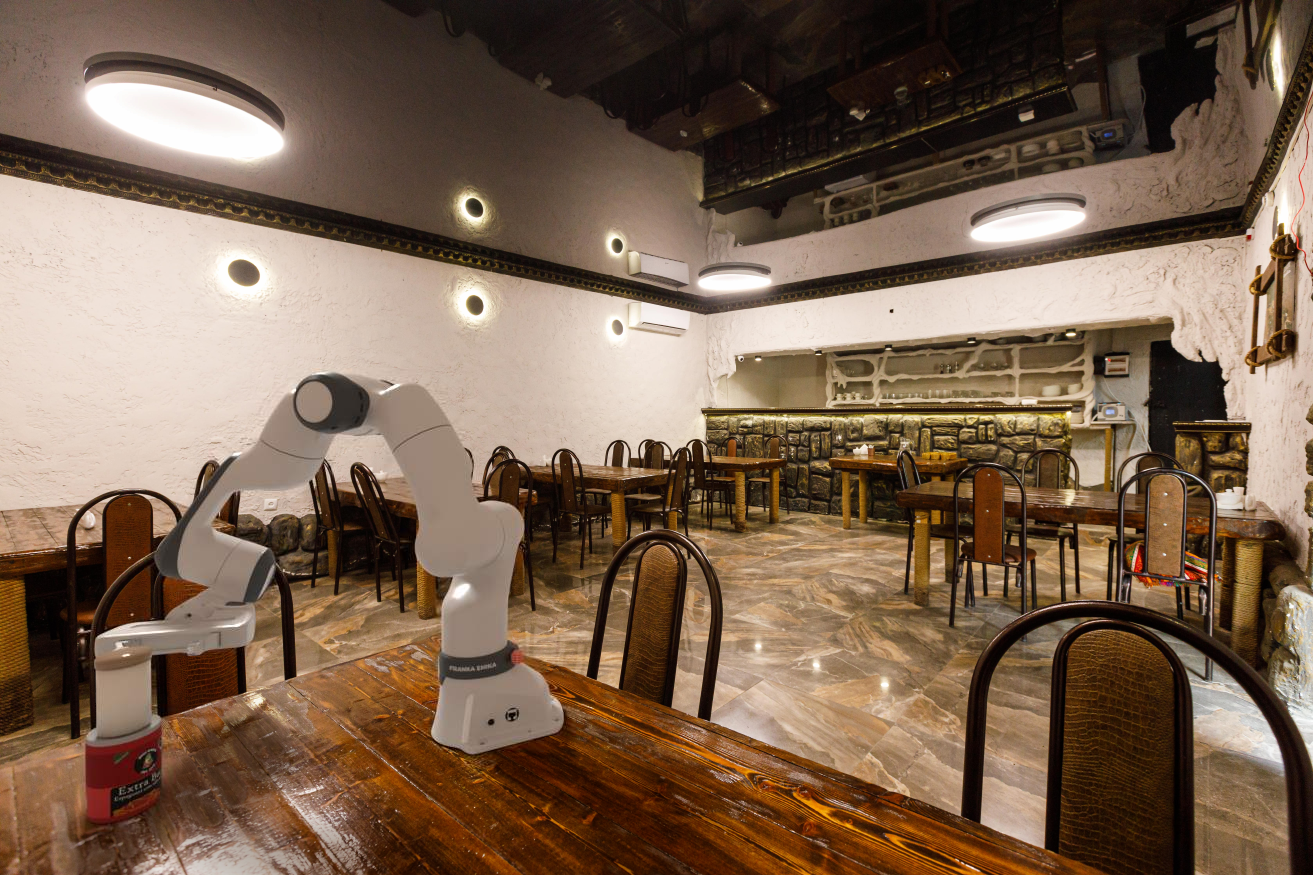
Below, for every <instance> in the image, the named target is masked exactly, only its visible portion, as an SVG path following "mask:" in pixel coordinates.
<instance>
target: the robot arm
mask: <svg viewBox="0 0 1313 875" xmlns="http://www.w3.org/2000/svg"><path fill="white" fill-rule="evenodd" d="M337 435H344V436H345V435H346V436H353V437H366V436H382V437H383V439H384V440H385V442H386V445H387V447H388V448H389V450H390V451H391V454H392V455H393V458H394V459H395V461H396V463H397V464H398V467H399V469H400V471H401V473H402V475H403V477H404V479H405V481H406V483H407V485H408V487H409V488H410V491H411V493H412V497H413V499H414V504H415V507H416V508H415V509H416V512H417V513H416V514H417V520H418V531H417V535H416V538H415V541H414V542H415V543H414V552H415V556H416V559H417V562H418V563H419V564H420V566H421V567H422V569H424V570H425V571H426V572H427V574H430V575H432V576H435V577H439V578H452V580H451V584H450V586H449V588H448V591H447V593H446V595H445V596H444V598H443V600H442V604H441V646H440V648H439V651H438V656H437V678H438V683H439V693H438V699H437V700H438V701H437V707H436V713H435V717H434V720H433V724H432V726H431V730H430V733H431V737H432V738H433V739H434V740H435V741H436V742H437V743H439V744H440V745H443V746H448V747H452V748H456V749H460V750H461V751H463V752H464V753H466V754H469V755H475V754H476V755H477V754H481V753H484V752H489V751H492V750H496V749H501V748H503V747H508V746H511V745H515V744H519V743H523V742H527V741H531V740H534V739H538V738H542V737H546V736H550V735H553V734H556V733H559V731H560V730H561V729H562V727H563V725H564V721H565V718H564V710H563V707H562V704H561V702H560V701H559V700H558V698H556V697H555V696H554V695H552V694H551V692H550V688H549V685H548V683H547V680H546V679H545V677H544V676H543V675H542V674H541V673H540V672H539V671H537V670H535V669H534V668H532V667H530V666H529V665H526V664H525V663H524V662H523V661H524V655H523V652H522V650H520V648H519V645H518V644H517V642H516V640H515V639H512V640H509V639H508V612H509V611H508V608H509V606H508V605H509V594H510V587H511V582H512V577H513V572H514V567H515V563H516V557H517V552H518V548H519V544H520V543H521V541H522V538H523V536H524V534H525V533H524V532H525V522H524V518H523V516H522V514H521V512H520V511H519V510H518V509H517V508H516V507H515V506H514V505H512V504H511V503H507V502H503V501H498V500H486V501H481V502H479V500H478V499H477V496H476V493H475V489H474V485H473V480H472V473H473V468H474V466H473V465H474V464H473V462H472V459H471V458H470V456H469V453H467V451H466V448H465V447H464V445H463V443H462V441H461V440H460V438H459V436H458V434H457V432H456V430H455V428H454V427H453V425H452V423H451V421H450V420H449V418H448V417H447V414H446V413H445V412H444V410H443V409H442V408H441V406H440V405H439V403H438V401H436V400H435V398H434V397H433V396H432V395H431V393H430V392H429V391H428V390H427V389H426V388H425V387H424V386H423V385H421V384H419V383H416V382H411V381H410V382H401V383H400V382H399V383H397V384H395V383H392V382H390V381H388V380H383V379H376V378H373V377H368V376H364V375H362V374H355V373H339V372H333V371H327V372H325V371H324V372H318V373H313V374H310V375H309V376H306V377H305V378H303V379H302V380H301V381H300V382H299V383H298V384H297V386H296V387H295V388H294V389H292V390H289V391H288V392H287V393H285V394H284V395H283V397H282V398H281V399H280V400H279V402H278V403H277V404H276V406H275V408H274V409H273V411H272V412H271V414H270V416H269V418H267V421H266V423H265V424H264V426H263V428H262V431H261V433H260V435H259V437H258V439H257V441H256V442H255V443H254V444H253V446H251V448H249V449H247V450H246V451H243V452H235V453H234V454H231V455H230V456H228V457H227V458H226V459H225V460H224V461H223V462H222V463H221V464H220V465H219V466H218V467H217V469H216V470H214V472H213V474H212V475H211V476H210V478H209V479H208V481H206V483H205V485H204V486H203V488H202V489H201V490H200V492H199V493H198V494H197V495H196V496H195V499H194V500H192V503H191V504H190V506H189V507H188V508H187V510H186V511H185V512H184V514H183V515H182V516H181V518H180V519H179V521H178V522H177V523H176V524H175V526H174V527H173V528H172V529H171V531H170V532H169V533H168V534H167V535H166V536H165V537H164V538H163V540H162V541H161V542H160V543H159V545H158V547H157V549H156V551H155V553H154V556H153V559H154V563H155V564H156V567H157V568H158V572H160V573H161V575H162V576H164V577H168V578H173V579H178V580H181V581H187V582H191V583H195V584H199V585H201V586H204V587H208V588H206V589H205V590H203V591H200V592H199V593H198V594H197V595H195V596H193V597H191V598H190V599H188V600H185V601H184V602H182V603H181V604H179V605H178V606H176V607H174V608H173V609H171V611H169V613H168V614H166V616H165V618H164V620H154V621H142V622H141V621H137V622H131V623H126V624H122V625H119V626H117V627H115V628H113V629H110V630H107V631H105V632H103V633H101V634H99V635H97V637H95V640H94V656H95V658H97V657H98V656H100V655H102V654H105V653H108V652H111V651H115V650H119V649H124V648H129V647H139V646H146V647H151V648H152V656H156V655H167V654H178V653H183V654H185V653H186V654H187V656H188V657H189V656H190V657H191V656H199V655H201V654H203V653H204V652H206V651H209V650H210V651H211V650H221V649H231V648H233V649H234V648H240V647H245V646H247V645H248V644H250V643H251V641H253V639H254V637H255V631H256V609H255V603H257V602H259V600H260V599H262V597H263V596H264V595H265V593H266V592H267V591H268V589H269V587H270V585H271V584H272V581H273V580H274V577H275V574H276V572H277V562H276V557H275V554H274V552H273V551H272V549H271V548H270V547H266V546H263V545H261V544H258V543H255V542H253V541H249V540H246V539H242V538H238V537H235V536H233V535H229V534H227V533H224V532H222V531H218V530H217V529H215V528H214V527H213V525H212V523H213V521H214V520H215V518H216V517H217V516H218V515H219V513H220V512H221V510H222V509H223V507H224V506H225V504H226V503H227V501H229V499H230V497H231V496H232V495H233V494H234V493H236V492H242V491H261V492H262V491H264V492H266V491H267V492H282V491H289V490H292V489H297V488H300V487H302V486H305V485H307V483H309V482H310V481H312V480H313V478H315V477H316V475H317V473H318V471H320V468H321V466H322V464H323V462H324V460H325V458H326V456H327V454H328V451H329V449H330V447H331V444H332V442H333V441H334V439H335V438H336V436H337Z"/></svg>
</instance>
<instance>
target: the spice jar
mask: <svg viewBox="0 0 1313 875" xmlns="http://www.w3.org/2000/svg"><path fill="white" fill-rule="evenodd" d="M152 657H153V655H152V648H151V647H146V646H139V647H129V648H124V649H119V650H115V651H111V652H108V653H105V654H102V655H100V656H98V657H95V659H94V660H93V666H94V670H95V703H96V704H95V705H96V707H95V708H96V709H95V710H96V711H95V712H96V727H97V736H99V737H115V736H120V735H124V734H128V733H131V732H134V731H137V730H139V729H141V728H143V727H145V726H146V725H148V724H149V723H150V722H151V714H152V667H151V666H152V662H151V661H152Z"/></svg>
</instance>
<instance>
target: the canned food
mask: <svg viewBox="0 0 1313 875" xmlns="http://www.w3.org/2000/svg"><path fill="white" fill-rule="evenodd" d="M162 725H163V724H162V718H161V716H160V715H158V714H154V713H153V714H152V713H151V722H150V723H149V724H148V725H146V726H145V727H143V728H141V729H139V730H137V731H134V732H131V733H128V734H124V735H120V736H115V737H99V736H97V726H96V727H95V728H93V729H91V730H90V731H89V732H88V733H87V734H86V736H85V744H84V745H85V749H84V754H85V756H84V758H85V759H84V760H85V761H84V762H85V764H84V766H85V770H84V772H85V777H84V778H85V815H86V816H87V819H88V821H89V822H91V823H94V824H112V823H117V822H120V821H123V820H126V819H129V818H132V817H134V816H137V815H139V814H141V813H142V812H144V811H146V810H148V809H149V808H151V807H152V806H153V805H155V803H157V802H158V800H159V798H160V796H161V793H162V786H163V785H162V779H163V777H162V775H163V774H162V773H163V772H162V771H163V770H162V769H163V767H162V766H163V763H162V761H163V759H162V758H163V757H162V756H163V754H162V751H163V750H162V749H163V747H162V746H163V739H162V738H163V735H162V734H163V730H162V729H163V728H162V727H163V726H162Z"/></svg>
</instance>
